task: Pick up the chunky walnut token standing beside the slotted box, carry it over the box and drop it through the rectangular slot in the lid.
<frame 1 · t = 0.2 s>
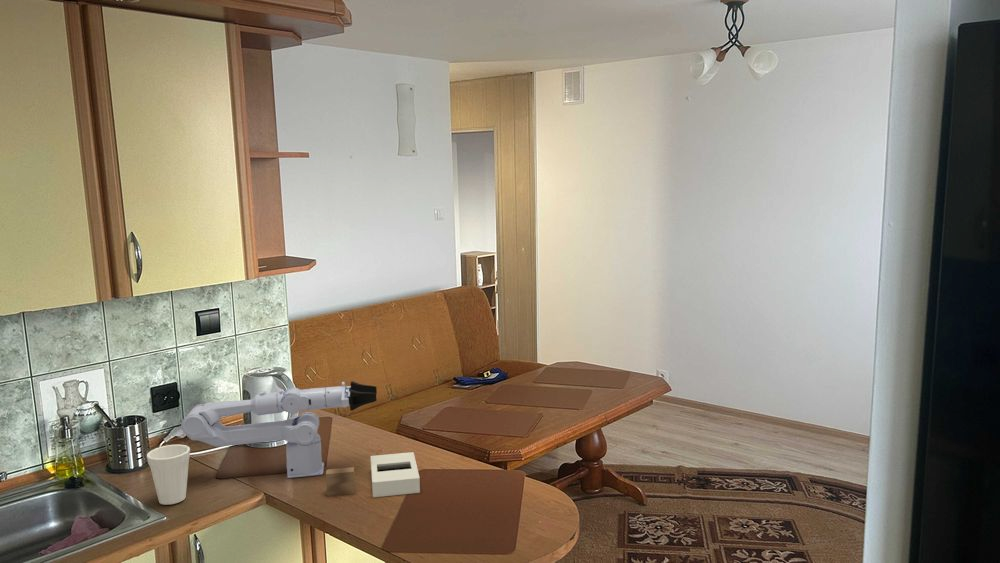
hand: (376, 393, 196), 21 cm above the table, tool horizontal, fingers open, 7 cm apart
cup: (172, 501, 179), on the table
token: (341, 492, 182), on the table
slotted box: (394, 480, 189), on the table
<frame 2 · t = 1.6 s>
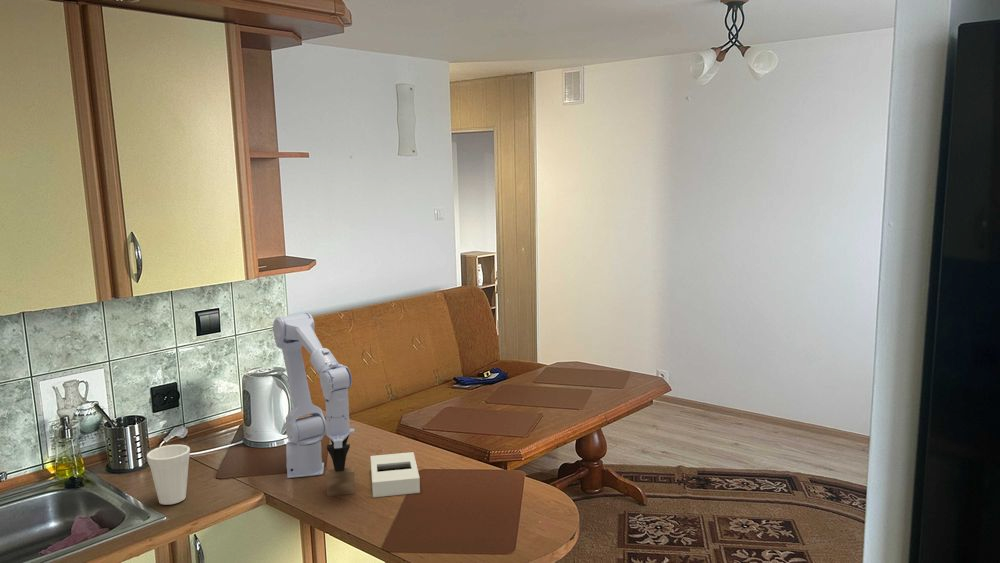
hand: (339, 465, 181), 7 cm above the table, tool pointing down, fingers open, 7 cm apart
nothing on the table moved.
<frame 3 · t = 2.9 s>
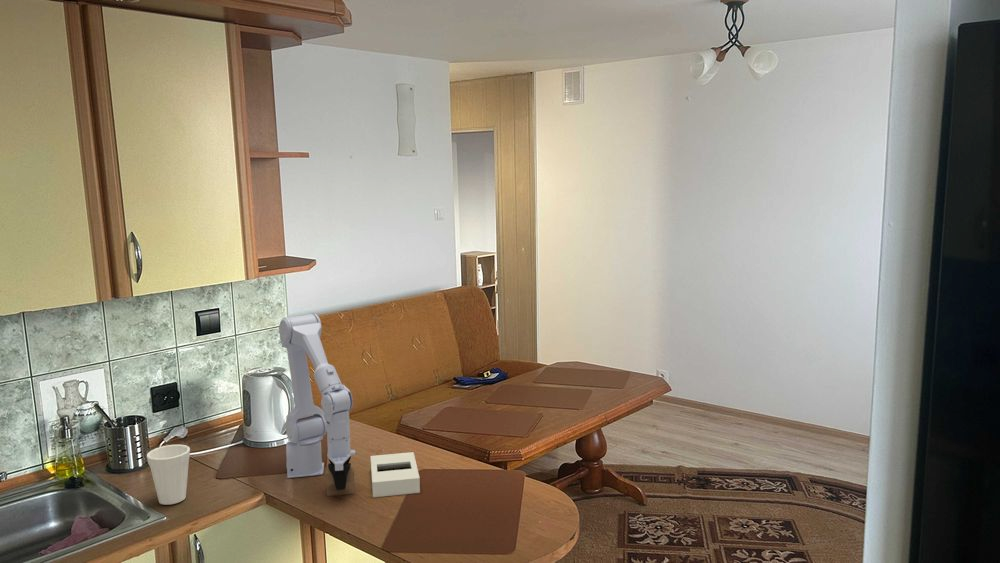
hand: (340, 486, 182), 2 cm above the table, tool pointing down, fingers closed on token, 3 cm apart
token: (341, 492, 182), on the table, touching gripper
everything else where it was.
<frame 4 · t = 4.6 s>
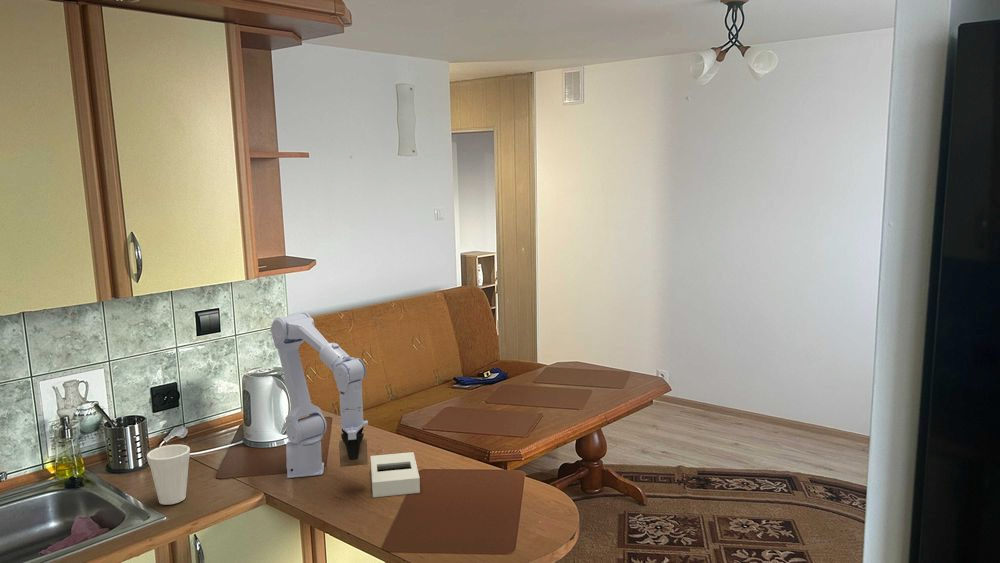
hand: (353, 456, 183), 9 cm above the table, tool pointing down, fingers closed on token, 3 cm apart
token: (354, 463, 183), point 7 cm above the table, touching gripper
everything else where it was.
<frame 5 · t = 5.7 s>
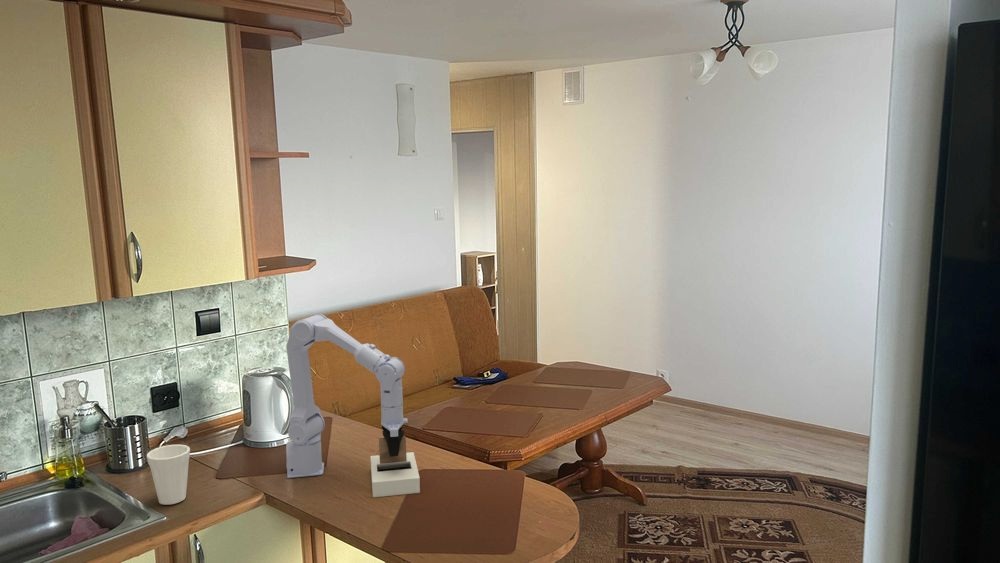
hand: (393, 453, 188), 8 cm above the table, tool pointing down, fingers closed on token, 3 cm apart
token: (393, 460, 188), point 6 cm above the table, touching gripper
everything else where it was.
when the fingers open (5 cm above the table, at t = 6.4 s): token drops 3 cm, resting in slotted box.
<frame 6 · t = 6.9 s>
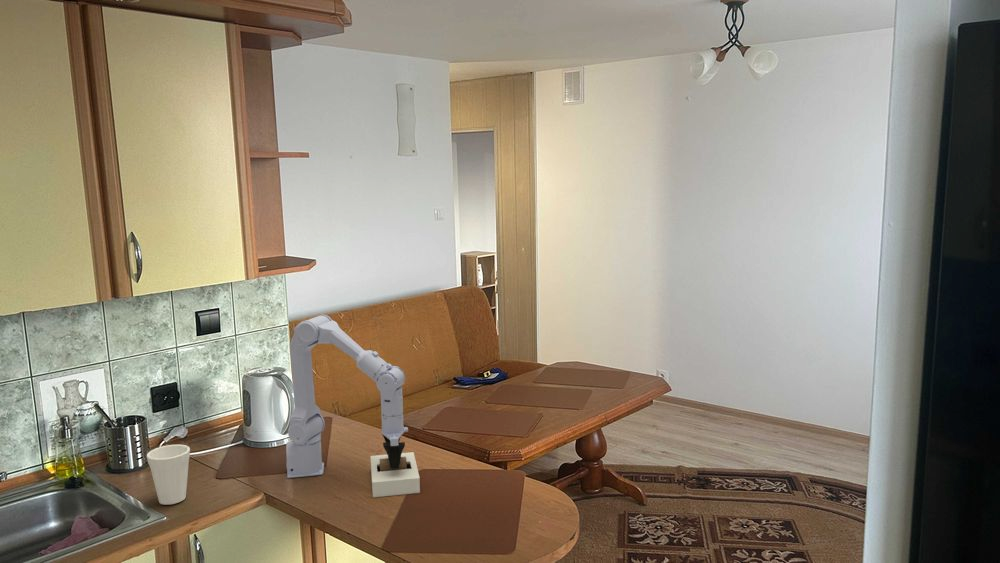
hand: (393, 462, 188), 5 cm above the table, tool pointing down, fingers open, 7 cm apart
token: (393, 481, 189), resting in slotted box
everything else where it was.
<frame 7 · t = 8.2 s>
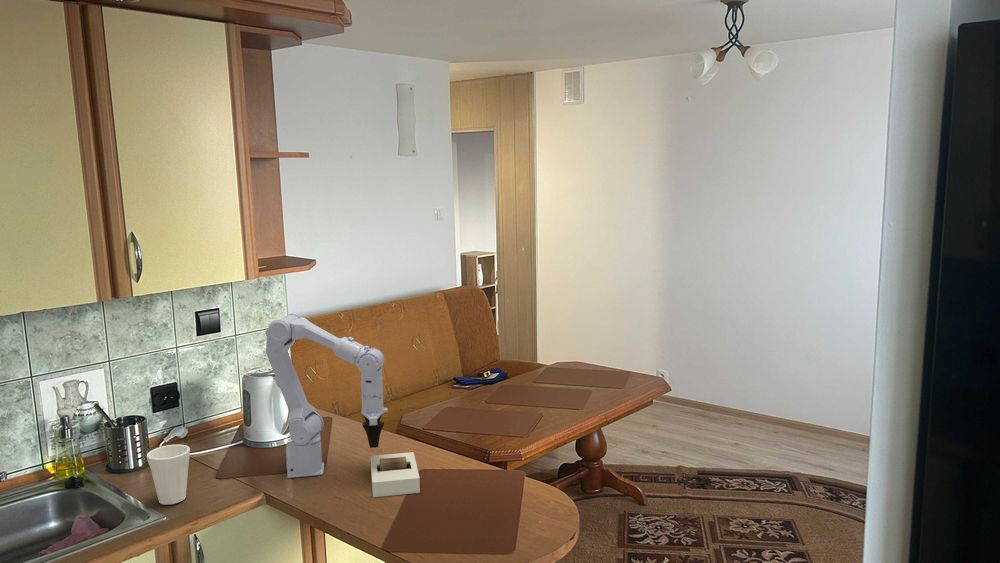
hand: (373, 442, 192), 9 cm above the table, tool pointing down, fingers open, 7 cm apart
nothing on the table moved.
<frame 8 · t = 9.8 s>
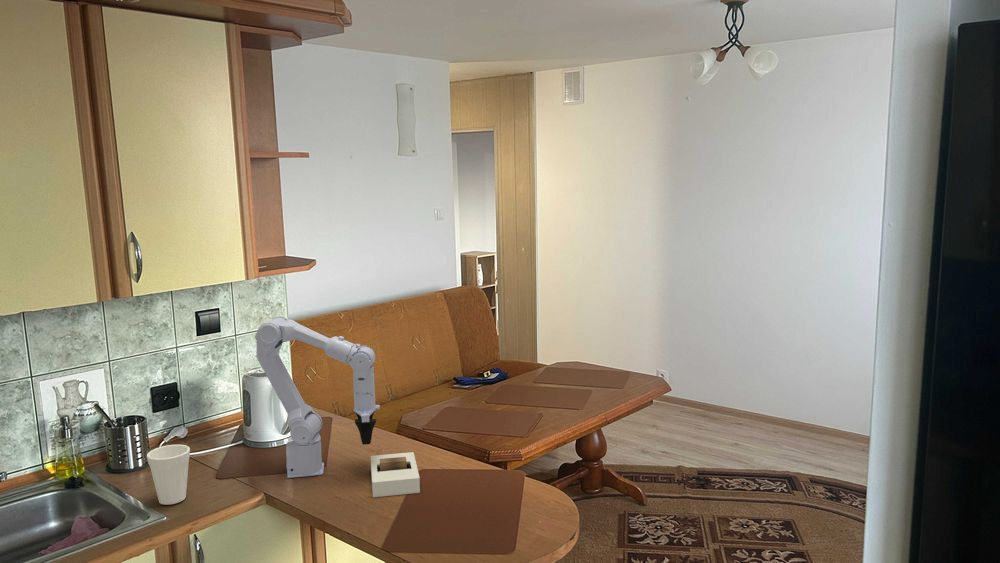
hand: (366, 438, 194), 9 cm above the table, tool pointing down, fingers open, 7 cm apart
nothing on the table moved.
at the end: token inside the target area on the slotted box (0.2 cm from its centre), point 0.0 cm above the slotted box's base; the gripper is holding nothing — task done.
